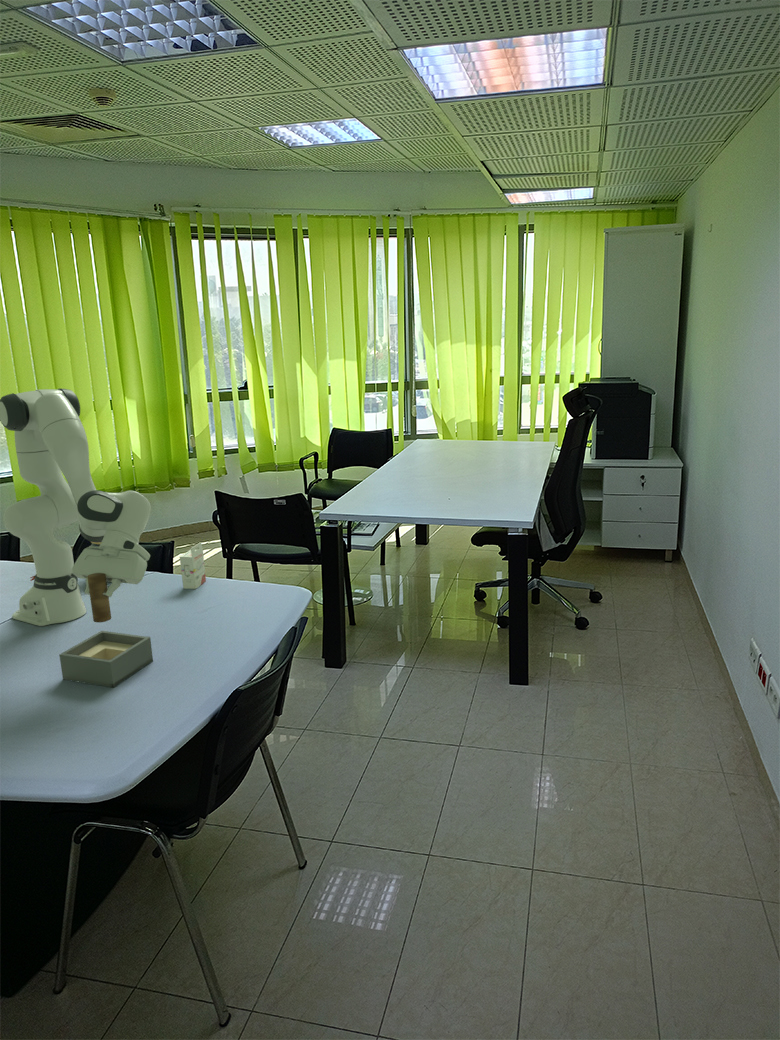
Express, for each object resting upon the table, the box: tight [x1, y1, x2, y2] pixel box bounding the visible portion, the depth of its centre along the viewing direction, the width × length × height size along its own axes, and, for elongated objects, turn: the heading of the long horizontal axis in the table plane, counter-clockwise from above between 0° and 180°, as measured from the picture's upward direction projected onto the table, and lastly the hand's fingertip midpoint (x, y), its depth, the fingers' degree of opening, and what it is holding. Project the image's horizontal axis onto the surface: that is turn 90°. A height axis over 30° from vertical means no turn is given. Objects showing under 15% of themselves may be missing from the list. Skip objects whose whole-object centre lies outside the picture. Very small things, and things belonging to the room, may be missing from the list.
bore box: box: [58, 630, 154, 689], centre depth 200 cm, size 16×16×7 cm
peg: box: [87, 573, 112, 623], centre depth 195 cm, size 4×4×12 cm
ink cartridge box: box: [179, 541, 207, 590], centre depth 262 cm, size 9×5×15 cm, turn 168°
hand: (97, 595), depth 195 cm, fingers closed on peg, 4 cm apart
